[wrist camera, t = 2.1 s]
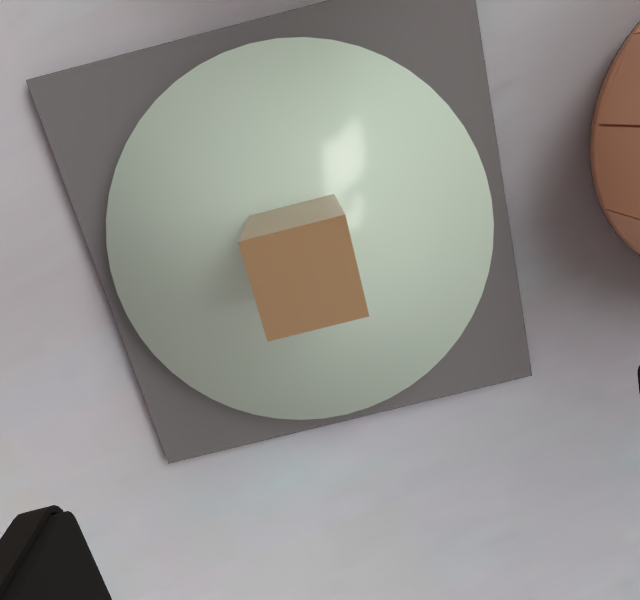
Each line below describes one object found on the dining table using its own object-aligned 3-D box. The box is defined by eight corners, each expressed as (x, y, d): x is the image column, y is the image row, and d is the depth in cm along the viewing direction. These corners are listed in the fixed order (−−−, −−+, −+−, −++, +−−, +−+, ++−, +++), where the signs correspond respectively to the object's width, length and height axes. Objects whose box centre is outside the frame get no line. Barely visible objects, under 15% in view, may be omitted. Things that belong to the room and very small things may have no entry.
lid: (55, 98, 27) (-26, 92, 20) (450, -7, 26) (506, -50, 19) (181, 443, 32) (150, 533, 25) (511, 362, 32) (572, 431, 25)
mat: (31, 80, 27) (25, 80, 26) (465, -34, 26) (469, -37, 26) (170, 457, 33) (168, 463, 32) (527, 370, 32) (532, 375, 32)
